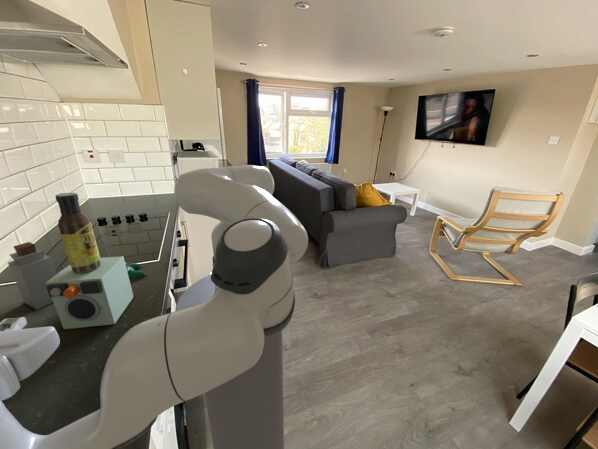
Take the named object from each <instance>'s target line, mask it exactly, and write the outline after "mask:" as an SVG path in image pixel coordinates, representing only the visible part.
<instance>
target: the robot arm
mask: <svg viewBox="0 0 598 449" xmlns="http://www.w3.org/2000/svg"><path fill="white" fill-rule="evenodd" d="M274 192H275V180H274V177H273V175H272V173H271V171H270V170H269V169H268V168H267V167H265V166H260V165H254V164H244V165H243V164H242V165H230V166H219V167H218V166H217V167H207V168H197V169H194V170H191V171H187V172H184V173H181V174H180V175H179V176H178V177H177V179H176V180H175V183H174V186H173V194H174V197H175V198H174V199H175V201H176V203H177V205H178V206H179V207H180V209H182V210H183V211H184V212H185V213H187V214H191V215H199V216H205V217H209V218H211V219H214V220H217V221H219V222H218V223H217V224H216V225H215V226H214V227H213V229H212V231H211V235H210V236H211V245H212V253H213V254H212V258H211V259H212V270H211V272H210V275H211V281H212V282H213V283H214V284H215V292H214V295H213V296H212V297H211V298H210V299H208V300H207V301H205V302H203V303H201V304H198V305H195V306H192V307H189V308H185V309H181V310H178V311H176V310H174V311H172V312H168V313H165V314H161V315H158V316H154V317H152V318H149V319H147V320H144V321H142V322H140V323H139V324H136V325H134V326H132V327H131V328H129V330H127V331H126V332H125V333H124V334H123V335H122V336H121V337H120V339H118V340H117V342H116V343H115V345H114V346H113V348H112V349H111V351H110V353H109V355H108V357H107V360H106V362H105V365H104V368H103V371H102V375H101V380H100V386H99V401H100V408H99V409H97V410H95V411H93V412H91V413H89V414H87V415H85V416H83V417H81V418H79V419H77V420H76V421H73V422H70V424H68V425H65V426H64V427H62V428H60V429H58V430H55V431H53V432H52V433H50V434H46V435H45V434H44V435H43V434H38V433H34V432H32V431H30V430H28V429H27V428H25V427H23V425H22V424H21V423H20V422H19V421H18V419H17V418H16V417H15V416H14V415H13V413H11V412H10V411H9V410H8V408H7V407H6V405H5V404H4V403H3V401H5V400H8V399H10V398H12V397H13V396H14V395H15V394H16V393H17V392H18V391H19V390H20V388H21V383H20V382H21V381H24V380H25V379H28V378H29V377H30V376H32V375H33V374H34V373H35V372H36V371H38V370H39V369H40V368H41V367H42V366H43V365H44V363H46V362H47V361H48V359H50V357H51V356H52V355H53V354H54V353H55V351H56V350H57V349H58V348H59V346H60V343H61V340H60V336H59V333H58V332H57V330H56V327H54V326H52V325H51V326H40V327H29V328H25V327H26V326H27V324H28V321H27V318H26V317H25V316H20V317H11V318H4V319H3V320H1V321H0V449H124V448H126V447H127V446H129V445H131V444H133V443H134V442H136V441H137V440H138V439H139V438H141V437H143V436H144V435H145V433H147V432H148V431H149V430H150V429H151V428H152V427H153V425H154V424H155V423H156V421H157V419H158V417H159V416H160V415H162V414H163V413H164V412H166V411H167V410H169V409H171V408H173V407H175V406H177V405H179V404H181V403H184V402H187V401H189V400H192V399H194V398H197V397H200V396H201V395H203V394H204V395H205V393H206V392H208V391H210V390H212V389H215V388H216V387H218V386H220V385H222V384H224V383H226V382H228V381H230V380H232V379H233V378H235V377H237V376H239V375H240V374H242V373H244V372H245V371H247V370H248V369H250V368H251V367H253V366H254V365H255V364H256V363H257V362H258V360H259V359H260V357H261V354H262V351H263V347H264V336H269V335H273V334H276V333H278V332H280V331H281V330H282V331H283V330H284V329H285V328H286V327H287V326H288V325H289V324H290V322H291V320H292V318H293V316H294V310H295V305H296V296H295V285H294V284H295V283H294V274H293V271H292V266H293V264H295V263H297V262H298V261H299V260H300V259H301V258H302V257H303V256H304V254H305V253H306V251H307V249H308V246H309V236H308V232H307V229H305V227H304V225H303V224H302V223H301V221H300V220H299V219H298V217H297V216H296V215H295V214H294V213H293V212H292V211H291V210H290V209H289V208H287V207H286V206H285V205H284V204H283V203H282V202H280V201H279V200H278V199H276V198H275V197H274V196H273V194H274Z"/></svg>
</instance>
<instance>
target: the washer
mask: <svg viewBox="0 0 598 449" xmlns="http://www.w3.org/2000/svg"><path fill="white" fill-rule="evenodd" d="M100 262H101V265H100V266H99V267H98V268H96V269H94V270H92V271H89V272H84V273H74V272H73V271H72V267H71V266H70V264H68V265H67V266H66V267H65V268H63V269H62V270H61V271H59V272H57V275H55V276H54V277H53V278H51V279H50V280H49V281H47V282H46V284H47V286H46V288H47V291H48V293H49V296H50V297H52V300H53V302H52V303H53V305H54V307H55V311H56V313H57V315H58V318H59V321H60V324H61V326H62V329H63V330H71V329H81V328H89V327H101V326H111V325H115V324H116V323H117V322H118V320H119V319H120V317H121V316H122V314H124V311H125V310H126V309H127V308H128V306H129V305H130V303H131V301H132V300H133V298H134V293H133V289H132V288H133V287H132V285H131V281H130V277H129V276H128V272H127V268H126V264H125V262H126V261H125V257H124V255H123V256H122V255H121V256H108V257H100ZM71 285H75V286H78V287H79V289H80V291H79V293H78V294H77V295H76V296H74V297H73V298H66V297H65V296H64V295H63V292H64V291H65V290H66V289H67V288H68V287H69V286H71Z"/></svg>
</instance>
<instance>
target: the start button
mask: <svg viewBox="0 0 598 449" xmlns="http://www.w3.org/2000/svg"><path fill="white" fill-rule="evenodd" d="M79 291H80V289H79V287H78V286H75V285H71V286H69V287H68V288H67V289H66V290H65V291H64V292H63V295H64V296H65V297H66V298H73V297H74V296H76V295H77V294H78V293H79Z"/></svg>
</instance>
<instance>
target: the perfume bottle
mask: <svg viewBox="0 0 598 449" xmlns="http://www.w3.org/2000/svg"><path fill="white" fill-rule="evenodd" d="M13 249H14V250H15V252H13V253H10V254H9V256H10V257H11V259H12V260H10V261H8V262H7V265H8V266H9V269H10V271H11V274H12V276H13V278H14V280H15V281H14V282H15V283H16V285H17V288H18V290H19V292H20V295H21V297H22V299H23V302H24V304H26V305H28V306H29V307H31V308H32V309H35V310H38V309H41V308H43V307H45V306H48V305H50V304H52V303H53V300H52V297H50V296H49V293H48V291H47V288H46V286H47V284H46V282H47V281H49V280H50V279H51V278H53V277H54V276H55V275H57V274H58V272H57V271H56V267H55V265H54V262H53V260H52V257H51V256H48V255H47V254H45V250H43V249H40V248H38V247H36V245H35V243H32V242H31V241H27V242H24V243H19V244H16V245H13Z"/></svg>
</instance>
